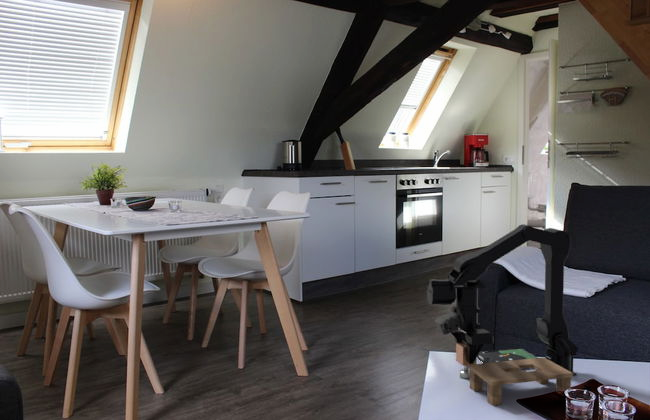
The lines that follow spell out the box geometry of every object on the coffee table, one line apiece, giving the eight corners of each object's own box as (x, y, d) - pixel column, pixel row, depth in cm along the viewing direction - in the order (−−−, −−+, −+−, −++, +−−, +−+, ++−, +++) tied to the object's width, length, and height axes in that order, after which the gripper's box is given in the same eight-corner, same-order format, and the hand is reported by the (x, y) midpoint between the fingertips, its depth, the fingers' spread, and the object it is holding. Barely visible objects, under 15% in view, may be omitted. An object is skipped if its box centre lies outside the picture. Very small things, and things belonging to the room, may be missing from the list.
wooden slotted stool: (543, 379, 156) (543, 357, 156) (572, 396, 145) (572, 373, 144) (468, 387, 151) (468, 364, 151) (491, 406, 140) (492, 381, 139)
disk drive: (492, 373, 163) (541, 368, 166) (492, 363, 163) (541, 358, 166) (476, 360, 173) (522, 356, 176) (476, 351, 173) (522, 347, 176)
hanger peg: (469, 373, 161) (469, 341, 160) (476, 378, 157) (476, 346, 157) (455, 374, 160) (456, 342, 159) (462, 380, 156) (463, 347, 156)
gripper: (424, 298, 164) (424, 352, 166) (454, 314, 146) (454, 375, 147) (461, 295, 167) (460, 348, 168) (495, 311, 149) (494, 371, 150)
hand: (466, 360), depth 158 cm, fingers open, 5 cm apart
